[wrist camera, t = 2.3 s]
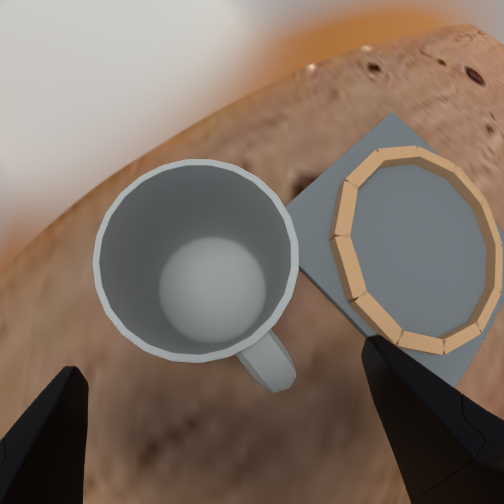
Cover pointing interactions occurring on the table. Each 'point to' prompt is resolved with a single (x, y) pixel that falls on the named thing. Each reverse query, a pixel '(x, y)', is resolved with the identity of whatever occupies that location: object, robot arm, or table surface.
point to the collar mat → (404, 247)
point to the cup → (200, 267)
